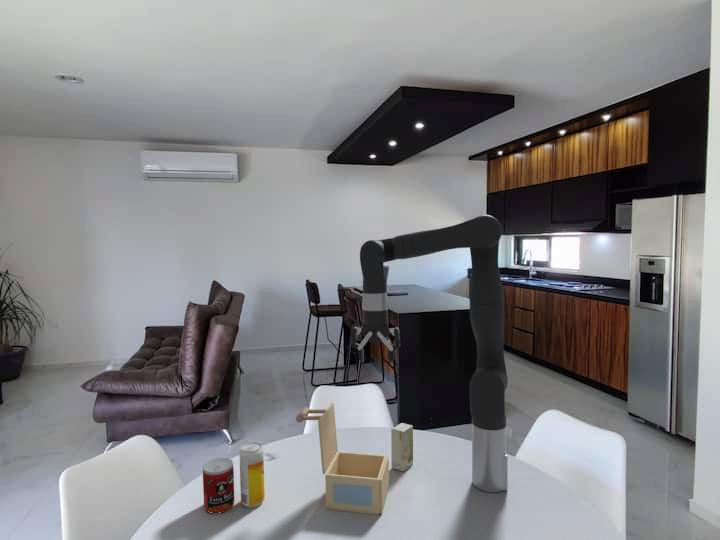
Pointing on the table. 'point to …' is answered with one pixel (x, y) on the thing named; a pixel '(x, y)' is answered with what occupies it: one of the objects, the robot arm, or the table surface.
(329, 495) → the wooden box
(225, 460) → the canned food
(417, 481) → the table surface
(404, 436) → the skincare box
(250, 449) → the beer can
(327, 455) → the flap
